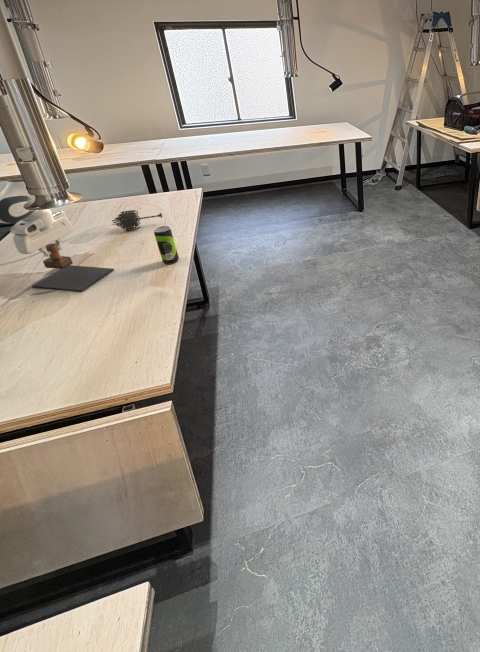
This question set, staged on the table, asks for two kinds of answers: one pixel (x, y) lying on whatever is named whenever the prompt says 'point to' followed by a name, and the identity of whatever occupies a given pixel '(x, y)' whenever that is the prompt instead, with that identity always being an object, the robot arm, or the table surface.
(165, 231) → the beverage can
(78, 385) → the table surface
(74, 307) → the table surface
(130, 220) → the massage brush
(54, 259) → the wooden rubber stamp
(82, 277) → the mat
